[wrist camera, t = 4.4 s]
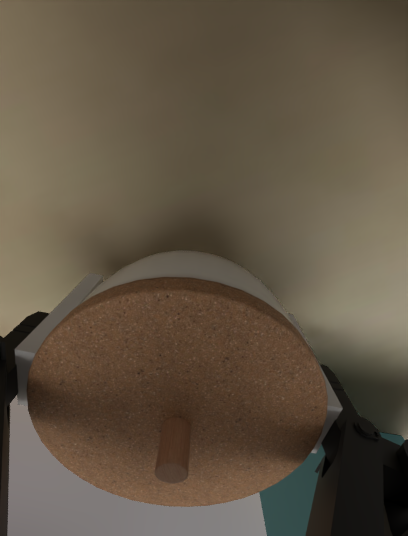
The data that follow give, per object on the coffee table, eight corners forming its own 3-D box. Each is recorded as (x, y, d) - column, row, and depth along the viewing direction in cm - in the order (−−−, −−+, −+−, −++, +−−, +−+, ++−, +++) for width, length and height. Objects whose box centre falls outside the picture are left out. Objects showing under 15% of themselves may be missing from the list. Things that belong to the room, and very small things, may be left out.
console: (276, 339, 22) (381, 583, 9) (447, 371, 23) (739, 620, 11) (246, 417, 25) (292, 678, 13) (397, 441, 27) (577, 697, 14)
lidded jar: (265, 205, 14) (354, 285, 6) (285, 361, 18) (354, 547, 10) (75, 245, 15) (-98, 366, 7) (134, 385, 19) (75, 572, 11)
